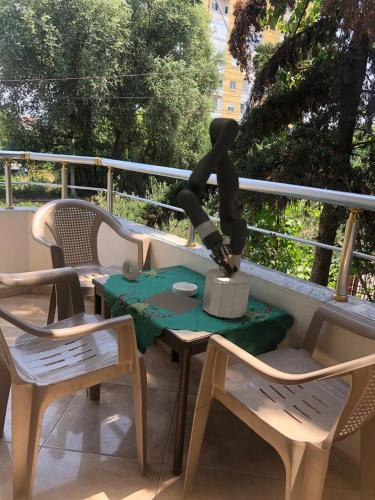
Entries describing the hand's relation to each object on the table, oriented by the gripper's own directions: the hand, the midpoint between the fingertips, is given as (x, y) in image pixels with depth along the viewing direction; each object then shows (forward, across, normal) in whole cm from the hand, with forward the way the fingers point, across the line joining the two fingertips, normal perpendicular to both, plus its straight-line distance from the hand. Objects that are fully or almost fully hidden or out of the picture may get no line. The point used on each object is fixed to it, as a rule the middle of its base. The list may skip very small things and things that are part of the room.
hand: (233, 272), depth 154 cm
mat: (-3, -6, +28) cm, 28 cm away
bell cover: (+9, 0, +12) cm, 16 cm away
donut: (-24, +2, +48) cm, 54 cm away
